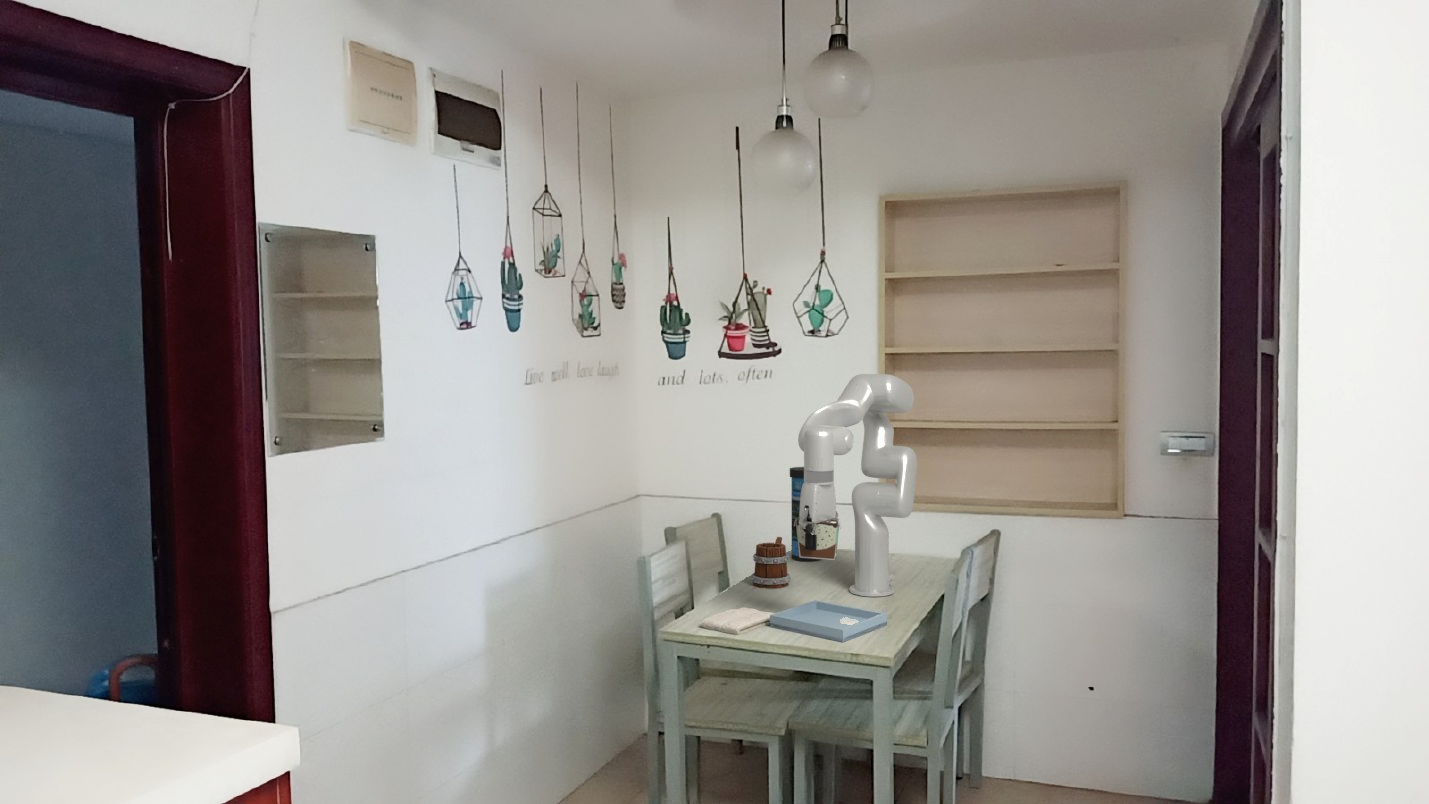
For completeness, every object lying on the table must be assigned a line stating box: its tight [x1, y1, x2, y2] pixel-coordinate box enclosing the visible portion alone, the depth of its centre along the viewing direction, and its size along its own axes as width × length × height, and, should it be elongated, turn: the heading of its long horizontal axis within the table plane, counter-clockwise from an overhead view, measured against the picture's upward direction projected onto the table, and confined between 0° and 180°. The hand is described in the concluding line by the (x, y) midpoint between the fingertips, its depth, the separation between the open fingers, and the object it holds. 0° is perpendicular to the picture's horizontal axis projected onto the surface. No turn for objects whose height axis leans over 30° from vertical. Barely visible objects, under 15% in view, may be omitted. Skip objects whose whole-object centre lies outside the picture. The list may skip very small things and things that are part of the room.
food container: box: [794, 517, 842, 561], centre depth 270 cm, size 12×6×10 cm, turn 67°
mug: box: [751, 536, 792, 590], centre depth 315 cm, size 12×14×15 cm
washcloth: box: [701, 607, 776, 636], centre depth 270 cm, size 12×18×3 cm, turn 142°
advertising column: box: [789, 466, 822, 563], centre depth 350 cm, size 11×11×30 cm
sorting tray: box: [769, 599, 888, 643], centre depth 268 cm, size 20×22×3 cm
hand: (818, 547), depth 269 cm, fingers closed on food container, 6 cm apart
